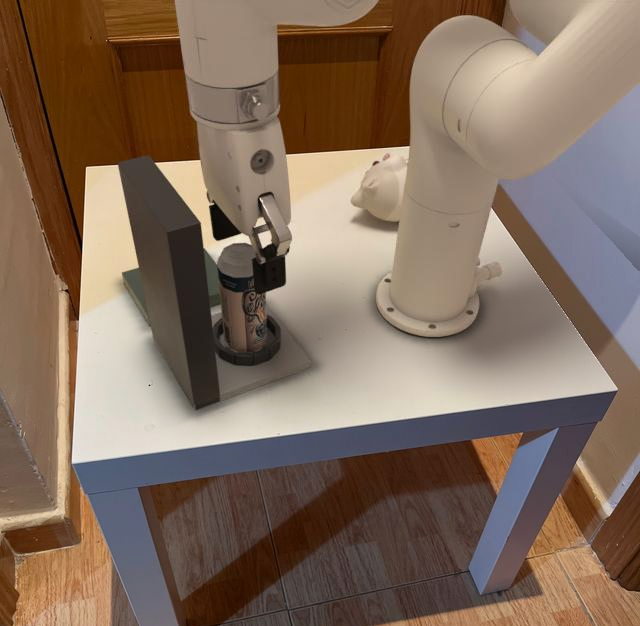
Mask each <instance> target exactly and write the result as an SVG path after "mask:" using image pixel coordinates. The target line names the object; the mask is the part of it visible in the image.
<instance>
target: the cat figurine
mask: <svg viewBox="0 0 640 626" xmlns="http://www.w3.org/2000/svg"><path fill="white" fill-rule="evenodd" d="M407 166H408V158H407V159H405V157H403V155H402V154H398V153H397V154H392V155H391V153H390V152H387V153H385V155H384V156H383V157H382V159H381V160H380V161H379V160H374V161H373V162H372V165H371V166H370V168H369V169H368V170H367V171H365V174H364V175H363V178H362V180H361V183H360V187H359V189H358V190H357V191H356V192H355V193H353V195H352V196H351V198H350V203H351V205H352V206H353V207H355V208H358V209H363V210H366V211H368V212H369V213H370V214H371V215H373V216H374V217H375V218H377V219H379V220H382V221H384V222H392V223H395V222H399V220H400V213H401V206H402V199H403V192H404V185H405V181H406V174H407Z"/></svg>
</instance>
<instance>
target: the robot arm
mask: <svg viewBox="0 0 640 626" xmlns="http://www.w3.org/2000/svg"><path fill="white" fill-rule="evenodd" d="M379 1H380V0H174V5H175V12H176V19H177V20H176V21H177V27H178V34H179V42H180V49H181V56H182V63H183V69H184V78H185V86H186V91H187V92H186V93H187V99H188V106H189V113H190V116H191V117H192V118H193V120H195V121H196V131H197V142H198V152H199V161H200V167H201V173H202V178H203V183H204V187H205V189H206V199H207V202H208V203H209V204H210V205H208V209H209V216H210V217H209V218H210V224H211V232H212V233H211V234H212V238H213V239H214V240H215V241H216V242H220V241H224V240H227V239H230V238H233V237H236V236H239V235H241V234H243V235H245V236H247V237H248V239H249V242H250V245H252V248H253V251H254V254H255V256H256V257H255V258H253V259H252V267H253V279H254V290H255V291H256V293H257V294H259V295H260V294H263V293H266V294H267V293H268V292H271V291H274V290H277V289H279V288H282V287H284V286H285V285H286V284H287V271H286V270H287V269H286V265H287V264H286V256H288V254H289V252H290V249H291V243H292V241H293V235H292V232H291V229H290V228H289V226H288V225H290V223H291V220H292V205H291V191H290V179H289V169H288V161H287V160H288V159H287V152H286V145H285V140H284V135H283V130H282V126H281V121H280V118H279V117H278V115H279V113H280V110H281V103H280V102H281V100H280V74H279V70H280V69H279V48H278V47H279V46H278V45H279V44H278V26H279V25H282V26H283V25H285V26H303V27H305V26H307V27H339V26H344V25H347V24H350V23H353V22H356V21H358V20H360V19H361V18H363V17H364V16H366V15H368V13H369V12H371V10H372V9H373V8H374V7H375V6H376V5H377V4H378V2H379ZM508 1H509V7H510V10H511V13H512V14H513V17H514V18H515V19H516V21H517V22H518V23H519V25H520V26H521V27H522V28H523V29H524V30H525V31H526V32H528V33H529V34H530V35H531V36H533V37H534V38H536V39H537V40H538V41H539V42H541V43H542V44H544V45H545V46H546V47H545V48H544V49H543V50H542V51H541V52H540V54H538V53H536V52H535V51H534V50H532V49H531V48H530V47H529V46H528V45H527V44H526V43H524V42H523V41H522V40H520V39H518V37H516V36H514V35H513V34H511V33H510V32H509V31H507V30H506V29H504V27H501V26H500V25H498V24H497V23H495V22H494V21H492V20H489V19H486V18H483V17H481V16H477V15H470V14H467V15H466V14H465V15H458V16H453V17H451V18H448V19H446V20H444V21H443V22H441V23H439V24H437V26H435V27H434V28H433V29H432V30H431V31H430V32H429V33H428V34H427V35H426V37H425V38H424V39H423V40H422V42H421V44H420V46H419V48H418V50H417V53H416V55H415V57H414V59H413V65H412V68H411V73H410V79H409V121H410V122H409V126H410V127H409V129H410V133H409V149H408V157H407V159H408V166H407V174H406V181H405V185H404V192H403V199H402V206H401V213H400V220H399V221H398V228H397V235H396V243H395V247H394V248H395V249H394V257H393V262H392V269H391V271H390V272H388V274H386V275H384V277H383V278H382V279H380V281H379V283H378V285H377V288H376V294H375V303H376V307H377V310H378V311H379V313H380V314H381V316H382V317H383V318H384V320H386V321H387V322H389V324H391V325H392V326H394V327H395V328H396V329H398V330H401V331H403V332H405V333H408V334H412V335H415V336H421V337H427V338H440V337H448V336H452V335H455V334H458V333H461V332H462V331H464V330H466V329H468V328H469V327H470V326H472V324H473V323H474V321H475V320H476V319H477V315H478V313H479V309H480V297H479V295H478V292H477V288H478V287H480V286H482V285H483V283H484V282H486V281H491V280H494V279H496V278H500V276H502V274H503V269H502V266H501V264H500V263H499V261H492V262H490V263H488V264H485V265H482V266H481V267H479V266H480V265H481V259H480V253H481V249H482V246H483V241H484V237H485V234H486V230H487V226H488V221H489V218H490V213H491V210H492V206H493V203H494V199H495V196H496V192H497V188H498V183H499V179H500V180H505V181H516V180H522V179H526V178H528V177H531V176H532V175H534V174H537V173H538V172H540V171H542V170H543V169H545V168H546V167H548V166H549V165H550V164H552V163H554V161H556V160H557V159H558V158H559V157H560V156H562V154H563V153H565V152H566V151H567V150H568V149H569V148H570V147H572V146H573V145H574V144H575V142H577V141H578V140H579V139H580V138H581V137H582V136H584V135H585V133H587V132H588V131H589V130H590V129H591V128H593V126H595V124H596V123H597V122H599V121H600V119H602V118H604V116H606V114H607V113H608V112H610V111H611V110H612V109H613V108H614V107H615V106H616V105H617V104H618V103H619V102H620V101H621V100H623V99H624V98H625V97H627V95H628V94H629V93H630V92H631V91H633V89H635V88H636V87H637V86H638V85H639V84H640V0H508ZM262 218H263V220H264V223H265V224H261V225H258V226H257V222H258V220H259V219H262ZM266 232H269V233H270V235H271V236H270V237H271V239H270V242H271V243H269V244H267V245H265V246H264V247H263V245H262V242H261V239H260V234H263V233H266Z"/></svg>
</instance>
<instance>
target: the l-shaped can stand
mask: <svg viewBox="0 0 640 626" xmlns="http://www.w3.org/2000/svg"><path fill="white" fill-rule="evenodd" d="M117 167H118V173H119V177H120V182H121V186H122V192H123V196H124V201H125V205H126V212H127V216H128V221H129V226H130V230H131V236H132V241H133V245H134V251H135V255H136V260H137V266H138V268H139V271H140V276H141V281H142V285H143V290H144V295H145V300H146V305H147V310H148V315H149V320H150V325H151V327H150V329H151V335H152V340H153V342H154V344H155V346H156V347H157V349H158V351H159V353H160V354H161V356H162V358H163V359H164V361H165V363H166V364H167V366H168V368H169V369H170V371H171V373H172V374H173V376H174V378H175V379H176V381H177V383H178V384H179V386H180V388H181V390H182V392H183V393H184V395H185V396H186V398H187V400H188V401H189V403H190V405H191V407H192V408H193V410H194V411H195V412H196V411H198V410H201V409H204V408H207V407H209V406H211V405H214V404H216V403H219V402H222V401H225V400H227V399H230V398H232V397H236V396H238V395H240V394H243V393H246V392H248V391H251V390H254V389H256V388H259V387H262V386H265V385H268V384H269V383H272V382H275V381H277V380H280V379H283V378H286V377H289V376H291V375H295V374H296V373H300V372H301V371H304V370H307V369H309V368H312V360H311V359H310V358H309V356H308V355H307V354H306V352H305V351H304V350H303V348H301V347H302V346H300V345H299V344H298V342H297V341H296V340H295V338H294V337H293V335H291V333H290V332H289V331H288V329H287V328H286V327H285V325H284V324H283V323H282V322H281V320H280V319H279V318H278V316H277V315H276V314H275V313H274V311H273V310H272V309H271V307H270V306H269V304H268V303H266V317H267V342H266V344H265V346H264V347H263V348H262V349H260V350H259V351H256V352H253V353H241V352H234V351H232V350H230V349H229V348H228V347H227V345H226V344H225V340H224V330H223V320H222V311H221V312H218V313H216V314H213V315H212V311H211V307H210V300H209V291H208V282H207V273H206V264H205V255H204V247H205V246H204V239H203V230H202V222H201V221H200V219H199V218H198V217H197V216H196V214H195V213H194V212H193V210H192V209H191V208H190V207H189V205H188V204H187V203H186V201H185V200H184V199H183V197H182V196H181V195H180V194H179V192H178V191H177V190H176V189H175V187H174V186H173V184H172V183H171V182H170V180H169V179H168V177H166V176H165V174H164V173H163V171H162V170H161V169H160V168H159V166H158V165H157V164H156V163H155V161H154V160H153V159H152V157H151V156H150V155H149V154H148V155H144V156H143V155H142V156H139V157H136V158H131V159H126V160H123V161H119V162H117Z"/></svg>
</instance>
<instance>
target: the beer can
mask: <svg viewBox="0 0 640 626" xmlns="http://www.w3.org/2000/svg"><path fill="white" fill-rule="evenodd" d="M255 257H256V256H255V254H254V251H253V248H252V245H251V243H248V242H236V243H235V242H234V243H231V244H229V245H227V246H226V247H223V248H222V251H221V252H220V255H219V256H218V258H217V261H216V264H217V269H218V279H219V289H220V299H221V304H220V309H221V312H222V320H223V330H224V340H225V344H226V345H227V347H228V348H229V349H230V350H232V351H234V352H241V353H253V352H256V351H259V350H260V349H262V348H263V347H264V346H265V344H266V342H267V317H266V304H267V292H266V293H263V294H260V295H259V294H257V293H256V291H255V290H254V279H253V267H252V259H253V258H255Z"/></svg>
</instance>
